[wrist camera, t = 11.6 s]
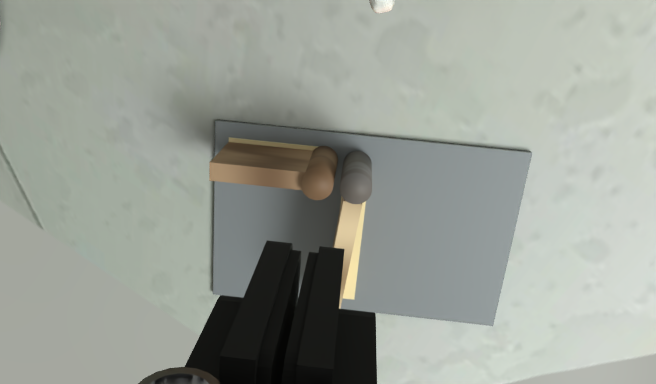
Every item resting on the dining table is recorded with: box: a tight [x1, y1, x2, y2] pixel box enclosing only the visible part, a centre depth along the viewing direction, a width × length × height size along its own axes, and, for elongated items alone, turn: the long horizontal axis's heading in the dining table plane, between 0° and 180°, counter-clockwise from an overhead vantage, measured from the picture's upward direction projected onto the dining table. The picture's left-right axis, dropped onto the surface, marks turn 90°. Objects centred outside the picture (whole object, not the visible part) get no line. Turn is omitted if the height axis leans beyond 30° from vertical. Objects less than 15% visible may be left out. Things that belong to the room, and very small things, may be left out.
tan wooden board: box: [332, 151, 372, 308], centre depth 38 cm, size 12×2×5 cm, turn 170°
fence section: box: [209, 142, 338, 200], centre depth 36 cm, size 8×2×5 cm, turn 85°
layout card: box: [213, 120, 532, 326], centre depth 40 cm, size 22×14×1 cm, turn 85°
